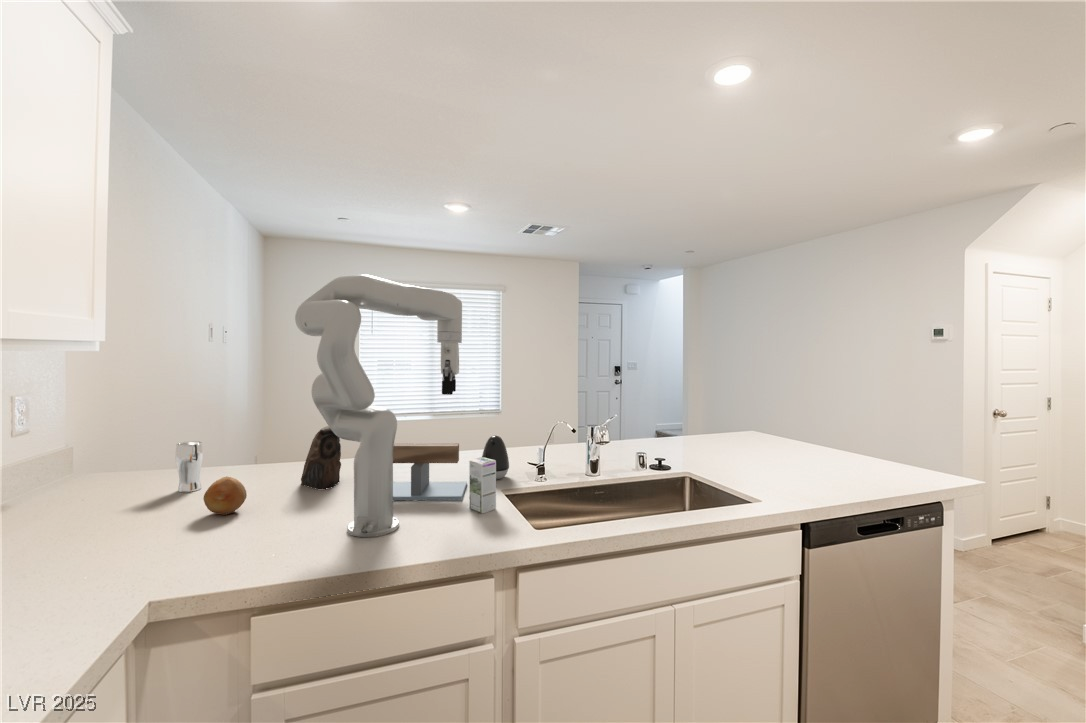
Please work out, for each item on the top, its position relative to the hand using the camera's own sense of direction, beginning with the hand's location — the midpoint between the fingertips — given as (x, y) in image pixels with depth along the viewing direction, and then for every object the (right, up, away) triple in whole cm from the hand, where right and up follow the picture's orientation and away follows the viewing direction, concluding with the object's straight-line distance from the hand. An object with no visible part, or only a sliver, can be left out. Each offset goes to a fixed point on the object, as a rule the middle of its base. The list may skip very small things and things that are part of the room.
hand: (448, 392), depth 150 cm
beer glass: (-84, -32, +4) cm, 90 cm away
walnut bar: (-10, -22, +4) cm, 25 cm away
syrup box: (+12, -33, -11) cm, 37 cm away
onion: (-59, -33, -17) cm, 69 cm away
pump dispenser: (+12, -32, +22) cm, 41 cm away
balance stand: (-10, -32, +4) cm, 34 cm away
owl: (-45, -32, +12) cm, 57 cm away
